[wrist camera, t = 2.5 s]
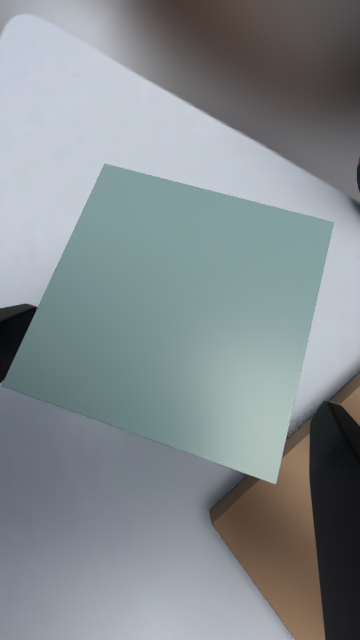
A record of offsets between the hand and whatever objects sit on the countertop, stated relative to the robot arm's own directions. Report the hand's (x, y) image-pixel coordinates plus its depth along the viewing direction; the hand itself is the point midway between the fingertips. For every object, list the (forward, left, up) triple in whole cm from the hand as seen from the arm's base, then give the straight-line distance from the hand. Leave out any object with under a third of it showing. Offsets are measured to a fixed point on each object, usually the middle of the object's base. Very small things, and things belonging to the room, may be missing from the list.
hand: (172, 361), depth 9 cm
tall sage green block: (+1, +1, -9) cm, 9 cm away
